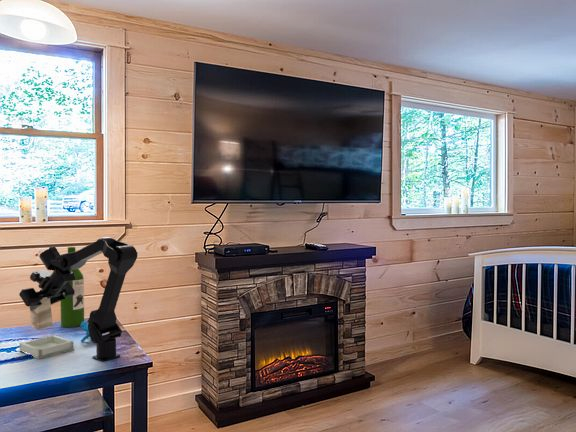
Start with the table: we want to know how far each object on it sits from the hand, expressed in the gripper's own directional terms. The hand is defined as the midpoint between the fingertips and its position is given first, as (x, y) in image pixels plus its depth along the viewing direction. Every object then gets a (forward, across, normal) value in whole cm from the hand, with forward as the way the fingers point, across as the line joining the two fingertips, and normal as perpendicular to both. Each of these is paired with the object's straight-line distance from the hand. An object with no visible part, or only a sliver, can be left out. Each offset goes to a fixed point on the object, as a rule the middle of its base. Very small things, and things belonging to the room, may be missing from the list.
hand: (37, 308), depth 172 cm
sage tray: (+2, +4, +16) cm, 17 cm away
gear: (-1, -11, +20) cm, 23 cm away
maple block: (+4, 0, +6) cm, 7 cm away
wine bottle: (+17, -23, +2) cm, 29 cm away
